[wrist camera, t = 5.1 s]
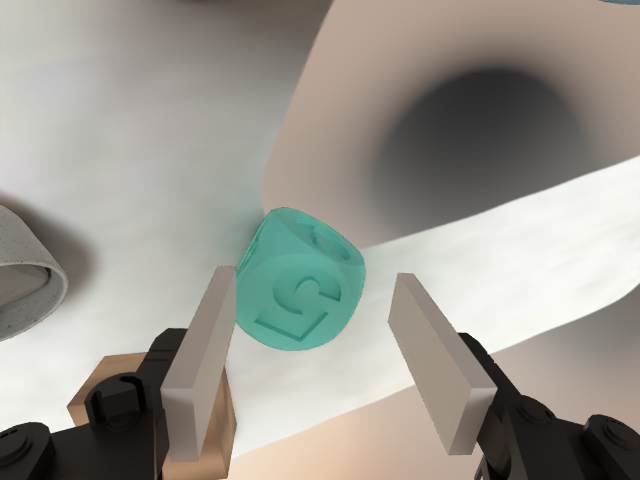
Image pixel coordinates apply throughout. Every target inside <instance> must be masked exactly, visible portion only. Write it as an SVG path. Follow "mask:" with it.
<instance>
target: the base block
mask: <svg viewBox="0 0 640 480" xmlns="http://www.w3.org/2000/svg"><path fill="white" fill-rule="evenodd" d="M146 354H147V352H143V353H133V354H122V355H112V356H105V357H104V358H103V360H102V361H101V362H100V364H99V365H98V366H97V367H96V369H95V370H94V371H93V373H92V374H91V375H90V377H89V378H88V379H87V381H86V382H85V383H84V384H83V386H82V387H81V388H80V390H79V391H78V392H77V394H76V395H75V396H74V398H73V399H72V400H71V402H70V403H69V404H68V405H67V409H68V411H69V413H70V415H71V417H72V419H73V422H74V424H75V426H76V427H77V426H81V425H83V424H86V423H89V420H88V416H87V412H86V408H85V405H84V401H85V399H86V397H87V395H88V393H89V392H90V391H91V390H92V389H93V388H94V387H95V386H96V385H97V384H98V383H100V382H101V381H103V380H105V379H106V378H108V377H111V376H113V375H116V374H119V373H125V372H136V371H137V369H138V367H139V365H140V364H141V362H143V359H144V357H145V355H146ZM236 425H237V423H236V418H235V414H234V409H233V404H232V399H231V394H230V390H229V385H228V380H227V375H226V370H225V365H224V367H223V371H222V375H221V379H220V382H219V386H218V390H217V394H216V398H215V401H214V405H213V409H212V413H211V417H210V420H209V424H208V428H207V432H206V435H205V439H204V443H203V447H202V451H201V454H200V458H199V462H170V457H169V450H168V453H167V456H166V459H165V461H164V464H163V467H162V469H163V476H164V480H219V479H226V478H227V477H228V471H229V465H230V460H231V454H232V448H233V442H234V436H235V431H236Z"/></svg>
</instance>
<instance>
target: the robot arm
mask: <svg viewBox="0 0 640 480" xmlns="http://www.w3.org/2000/svg"><path fill="white" fill-rule="evenodd" d="M600 1H603V2H609V3H617V4H627V5H630V4H631V5H640V0H600ZM235 322H236V267H231V266H218V267H217V269H216V271H215V273H214V275H213V277H212V279H211V282H210V284H209V286H208V288H207V290H206V292H205V294H204V296H203V299H202V301H201V303H200V305H199V307H198V309H197V311H196V313H195V316H194V318H193V320H192V322H191V324H190V326H189V328H188V329H184V328H168V329H166V330H165V331H164V332H163V333H161V334H160V335H159V336H158V337H156V338H155V340H154V342H153V344H152V345H151V347H150V349H149V352H147V354H146V355H145V357H144V359H143V362H141V364H140V365H139V367H138V369H137V371H136V372H125V373H119V374H116V375H113V376H111V377H108V378H106V379H105V380H103V381H101V382H100V383H98V384H97V385H96V386H95V387H94V388H93V389H92V390H91V391H90V392H89V393H88V395H87V397H86V399H85V401H84V405H85V408H86V412H87V416H88V420H89V423H86V424H83V425H81V426H77V427H73V428H70V429H66V430H62V431H59V432H55V433H51V434H50V431H49V428H48V426H46V425H44V424H42V423H39V422H28V423H24V424H20V425H16V426H13V427H11V428H9V429H7V430H5V431H2V432H0V480H164V476H163V469H162V467H163V464H164V461H165V459H166V456H167V453H168V450H169V457H170V462H199V458H200V454H201V451H202V447H203V443H204V439H205V435H206V432H207V428H208V424H209V420H210V417H211V413H212V409H213V405H214V401H215V398H216V394H217V390H218V386H219V382H220V379H221V375H222V371H223V367H224V363H225V360H226V356H227V352H228V348H229V345H230V341H231V337H232V333H233V329H234V326H235ZM388 323H389V325H390V328H391V330H392V332H393V334H394V337H395V339H396V341H397V343H398V345H399V348H400V350H401V352H402V354H403V357H404V359H405V361H406V363H407V365H408V368H409V370H410V372H411V374H412V377H413V379H414V381H415V383H416V385H417V388H418V390H419V392H420V394H421V397H422V399H423V401H424V403H425V405H426V408H427V410H428V412H429V414H430V416H431V419H432V421H433V423H434V425H435V428H436V430H437V432H438V434H439V436H440V439H441V441H442V443H443V445H444V448H445V450H446V452H447V454H448V455H471V454H472V452H473V449H474V447H475V444H476V442H478V443H479V445H480V448H481V449H482V451H483V453H484V455H483V457H482V460H481V462H480V464H479V467H478V469H477V472H476V474H475V477H474V480H480V479H481V477H482V476H483V480H640V435H639V434H638V433H637V432H635V431H634V430H633V429H632V428H630V427H629V426H627V425H625V424H624V423H622V422H620V421H618V420H616V419H614V418H612V417H608V416H604V415H600V414H598V415H592V416H591V417H590V418H589V419H588V420H587V422H586V424H585V425H581V424H577V423H573V422H569V421H566V420H562V419H558V418H556V417H555V415H554V414H553V412H552V411H550V410H549V409H548V408H547V407H546V406H545V405H543V404H542V403H540V402H539V401H537V400H535V399H533V398H531V397H528V396H525V395H521V394H520V392H519V391H518V390H517V389H516V388H515V386H514V385H513V384H512V383H511V381H510V380H509V379H508V378H507V376H506V375H505V374H504V373H503V371H502V370H501V369H500V368H499V366H498V365H497V364H496V363H494V360H493V359H492V358H491V356H490V355H489V354H487V351H486V350H485V349H484V348H483V346H482V345H481V344H480V343H479V342H478V341H477V340H476V339H474V338H473V337H472V336H470V335H469V334H468V333H457V332H456V331H455V329H454V328H453V327H452V325H451V324H450V323H449V321H448V320H447V318H446V317H445V316H444V314H443V313H442V312H441V310H440V309H439V308H438V306H437V305H436V304H435V302H434V301H433V299H432V298H431V297H430V295H429V294H428V293H427V291H426V290H425V289H424V287H423V286H422V285H421V283H420V282H419V280H418V279H417V278H416V276H415V275H414V274H409V273H398V274H397V279H396V284H395V289H394V294H393V299H392V304H391V309H390V314H389V319H388Z"/></svg>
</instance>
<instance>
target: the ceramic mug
mask: <svg viewBox="0 0 640 480" xmlns="http://www.w3.org/2000/svg"><path fill="white" fill-rule="evenodd" d="M68 288H69V280H68V277H67V274H66V273H65V271H64V269H63V268H62V267H61V266H60V265H59V264H58V263H57V261H56V260H55V259H54V258H53V256H52V255H51V254H50V253H49V251H48V250H47V249H46V248H45V247H44V246H43V244H42V243H41V242H40V241H39V240H38V239H37V238H36V236H35V235H34V234H33V232H32V231H31V230H30V228H29V227H28V226H27V225H26V224H25V223H24V222H23V221H22V219H21V218H20V217H18V216H17V215H16V214H14V213H13V212H12V211H10V210H9V209H8V208H6V207H4V206H2V205H0V342H1V341H3V340H6V339H9V338H12V337H14V336H16V335H18V334H20V333H22V332H25V331H26V330H28V329H30V328H32V327H33V326H35V325H36V324H38V323H40V322H41V321H42V320H44V319H45V318H46V317H48V316H49V315H50V314H51V313H52V312H53V311H54V310H55V309H56V308H57V307H58V306H59V305H60V304H61V303H62V302H63V300H64V298H65V297H66V295H67V292H68Z"/></svg>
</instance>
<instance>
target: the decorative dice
mask: <svg viewBox="0 0 640 480" xmlns="http://www.w3.org/2000/svg"><path fill="white" fill-rule="evenodd" d="M364 281H365V264H364V259H363V257H362V255H361V254H360V252H359V251H358V250H357V249H356V248H355V247H354V246H353V245H352V244H351V243H350V242H349V241H348V240H347V239H345V238H344V237H343V236H342V235H340V234H339V233H338V232H336V231H335V230H334V229H332V228H331V227H329V226H327V225H326V224H324V223H322V222H321V221H319V220H317V219H315V218H314V217H312V216H310V215H307V214H305V213H303V212H300V211H298V210H295V209H291V208H284V207H282V208H278V209H274V210H271V211H270V212H269V213H268V215H267V216H266V218H265V219H264V221H263V222H262V224H261V225H260V227H259V229H258V230H257V232H256V234H255V236H254V237H253V239H252V241H251V243H250V245H249V247H248V248H247V250H246V252H245V254H244V256H243V258H242V260H241V262H240V264H239V266H238V268H237V270H236V323H237V324H238V325H239V326H240V327H241V328H242V329H243V330H244V331H245V332H246V333H247V334H249V335H250V336H251V337H253V338H254V339H256V340H257V341H259V342H261V343H263V344H265V345H267V346H270V347H272V348H276V349H280V350H286V351H300V350H307V349H311V348H315V347H318V346H320V345H323V344H325V343H327V342H329V341H331V340H332V339H334V338H335V337H336V336H337V335H338V334H339V333H340V332H341V331H342V330H343V328H344V327H345V326H346V324H347V323H348V321H349V320H350V318H351V316H352V314H353V313H354V311H355V309H356V306H357V304H358V302H359V299H360V297H361V294H362V290H363V286H364Z"/></svg>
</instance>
